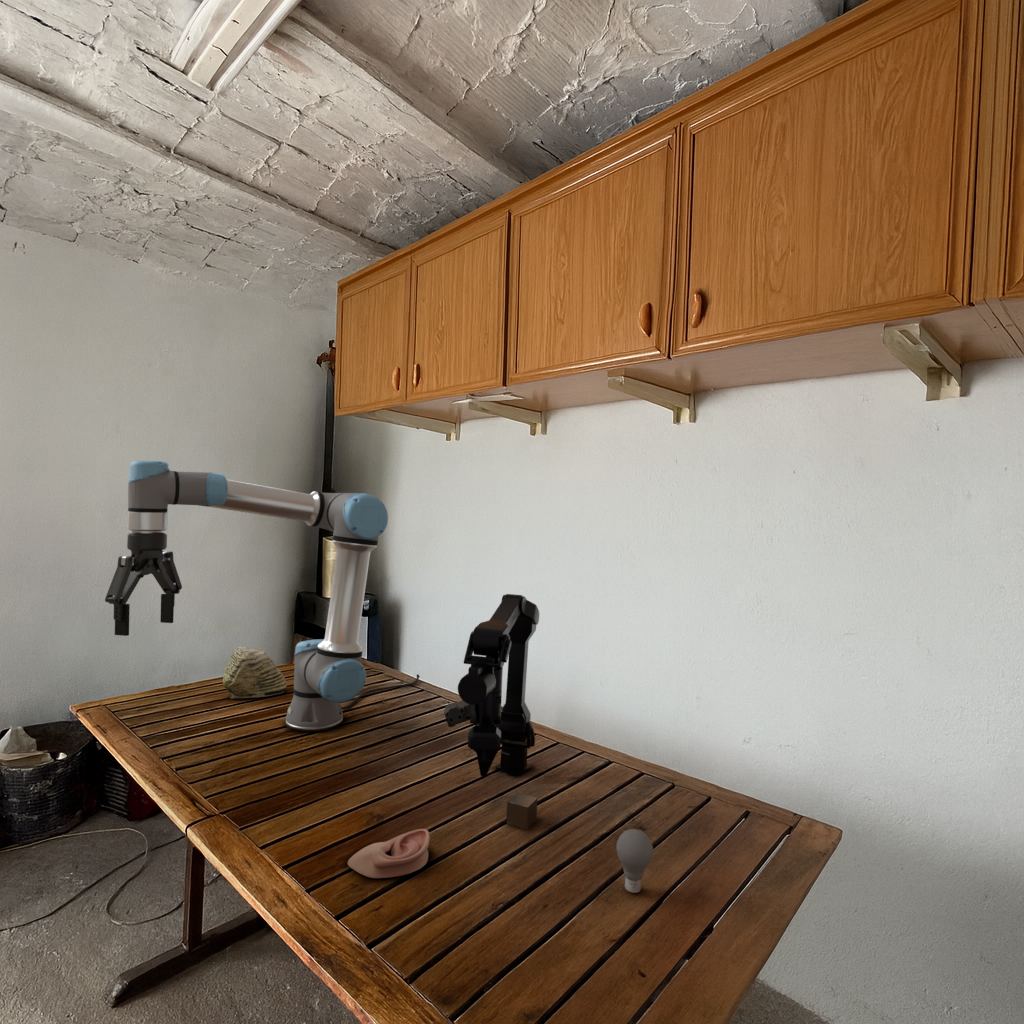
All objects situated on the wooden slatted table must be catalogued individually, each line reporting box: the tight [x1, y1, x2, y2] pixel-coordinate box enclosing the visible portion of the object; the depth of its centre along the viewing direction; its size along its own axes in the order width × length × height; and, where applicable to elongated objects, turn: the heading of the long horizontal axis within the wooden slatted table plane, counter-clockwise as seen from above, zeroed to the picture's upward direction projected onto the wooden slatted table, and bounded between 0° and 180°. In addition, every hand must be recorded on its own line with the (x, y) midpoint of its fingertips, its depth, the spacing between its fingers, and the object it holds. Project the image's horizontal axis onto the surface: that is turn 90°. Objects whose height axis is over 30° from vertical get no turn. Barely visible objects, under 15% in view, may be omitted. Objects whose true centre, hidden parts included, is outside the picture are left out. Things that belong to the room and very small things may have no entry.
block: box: [506, 792, 538, 831], centre depth 127 cm, size 4×4×4 cm
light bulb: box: [615, 828, 654, 894], centre depth 106 cm, size 6×6×10 cm
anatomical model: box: [347, 828, 431, 879], centre depth 111 cm, size 13×4×12 cm
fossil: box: [222, 646, 288, 699], centre depth 198 cm, size 9×18×15 cm, turn 132°
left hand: (145, 628), depth 138 cm, fingers open, 13 cm apart
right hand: (484, 765), depth 128 cm, fingers open, 9 cm apart
